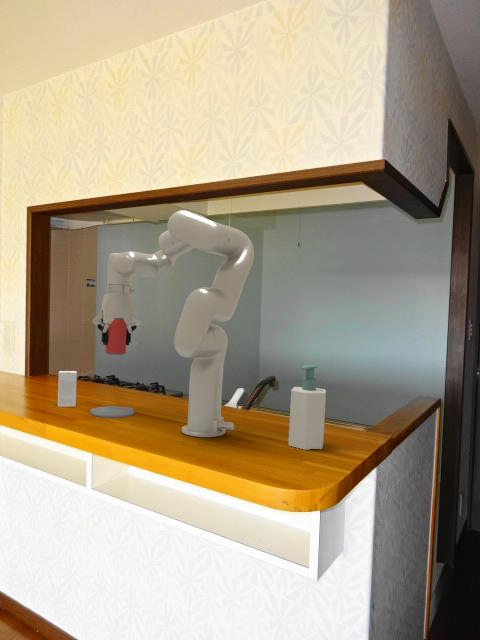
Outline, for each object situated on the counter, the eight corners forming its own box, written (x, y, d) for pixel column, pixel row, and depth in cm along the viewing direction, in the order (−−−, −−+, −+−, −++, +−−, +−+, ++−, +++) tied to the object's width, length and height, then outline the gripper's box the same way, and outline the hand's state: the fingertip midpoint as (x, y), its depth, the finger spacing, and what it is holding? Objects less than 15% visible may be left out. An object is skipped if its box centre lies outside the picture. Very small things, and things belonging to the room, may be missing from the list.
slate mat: (141, 411, 169) (141, 408, 169) (120, 419, 155) (120, 416, 155) (105, 407, 173) (105, 404, 173) (81, 414, 159) (81, 411, 159)
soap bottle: (280, 444, 136) (285, 364, 135) (300, 439, 142) (304, 362, 142) (312, 452, 129) (317, 368, 129) (330, 446, 136) (335, 366, 135)
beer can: (120, 355, 160) (122, 318, 160) (101, 354, 161) (103, 317, 161) (129, 354, 166) (130, 318, 166) (110, 352, 168) (112, 317, 167)
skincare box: (75, 404, 176) (77, 370, 175) (75, 406, 171) (77, 372, 171) (57, 404, 174) (58, 370, 173) (56, 407, 170) (58, 372, 169)
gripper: (140, 292, 171) (138, 344, 171) (89, 289, 163) (86, 343, 163) (147, 292, 164) (144, 346, 165) (94, 288, 156) (91, 345, 156)
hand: (116, 344), depth 164 cm, fingers closed on beer can, 6 cm apart
